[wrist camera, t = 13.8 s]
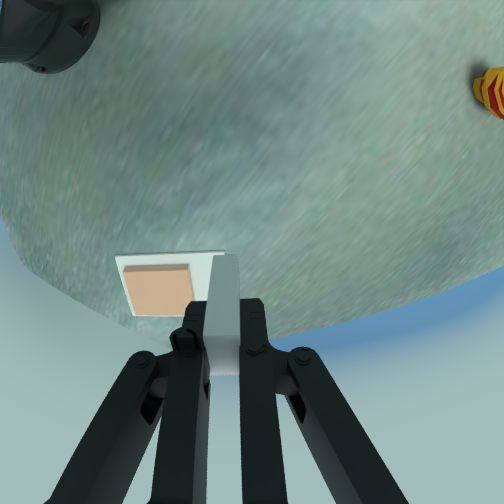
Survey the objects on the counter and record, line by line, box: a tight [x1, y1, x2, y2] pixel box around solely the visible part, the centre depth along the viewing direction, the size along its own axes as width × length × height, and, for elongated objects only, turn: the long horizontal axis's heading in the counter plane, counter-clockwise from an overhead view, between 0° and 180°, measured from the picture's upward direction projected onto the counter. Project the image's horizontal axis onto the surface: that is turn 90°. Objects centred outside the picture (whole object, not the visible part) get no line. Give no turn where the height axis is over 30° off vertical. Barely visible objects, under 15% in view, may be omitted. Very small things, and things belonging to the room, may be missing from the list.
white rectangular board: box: [115, 250, 225, 316], centre depth 52 cm, size 20×14×1 cm
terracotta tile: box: [122, 265, 195, 316], centre depth 51 cm, size 2×10×12 cm
